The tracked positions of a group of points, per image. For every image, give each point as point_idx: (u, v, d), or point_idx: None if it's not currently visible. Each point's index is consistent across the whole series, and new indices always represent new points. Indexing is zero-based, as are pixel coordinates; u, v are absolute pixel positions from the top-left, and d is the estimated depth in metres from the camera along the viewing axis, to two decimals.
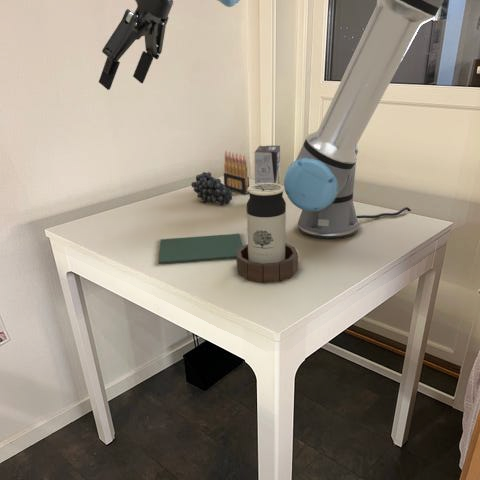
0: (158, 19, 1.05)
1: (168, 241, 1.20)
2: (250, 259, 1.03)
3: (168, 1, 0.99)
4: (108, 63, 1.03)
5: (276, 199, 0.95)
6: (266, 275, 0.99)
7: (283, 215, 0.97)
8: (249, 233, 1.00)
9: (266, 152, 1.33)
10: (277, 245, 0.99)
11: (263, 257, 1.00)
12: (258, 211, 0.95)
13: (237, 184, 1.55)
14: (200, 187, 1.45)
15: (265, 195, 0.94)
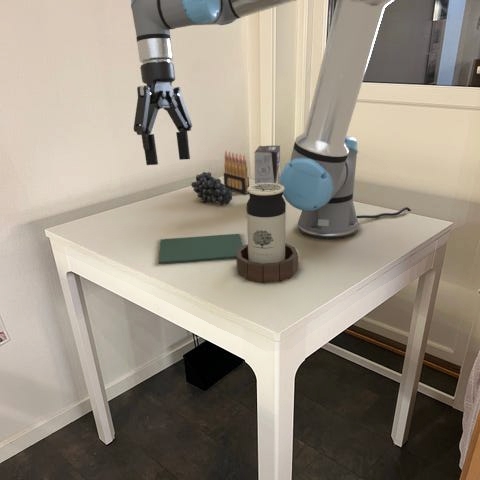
0: (171, 89, 1.12)
1: (168, 241, 1.20)
2: (250, 259, 1.03)
3: (167, 62, 1.06)
4: (144, 139, 1.07)
5: (276, 199, 0.95)
6: (266, 275, 0.99)
7: (283, 215, 0.97)
8: (249, 233, 1.00)
9: (266, 152, 1.33)
10: (277, 245, 0.99)
11: (263, 256, 1.00)
12: (257, 211, 0.95)
13: (237, 184, 1.55)
14: (200, 187, 1.45)
15: (265, 195, 0.94)
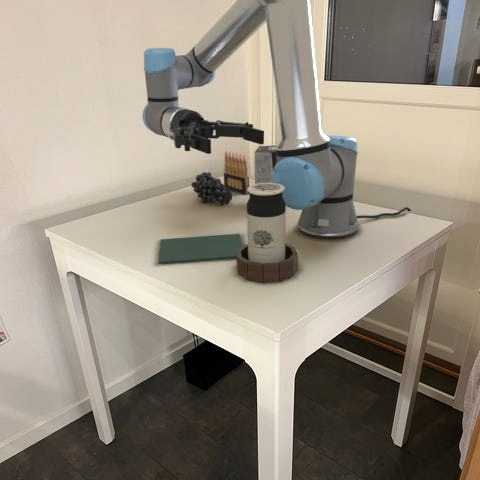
0: None
1: (168, 241, 1.20)
2: (250, 259, 1.03)
3: None
4: (188, 142, 0.99)
5: (276, 199, 0.95)
6: (266, 275, 0.99)
7: (283, 215, 0.97)
8: (249, 233, 1.00)
9: (266, 152, 1.33)
10: (277, 245, 0.99)
11: (263, 256, 1.00)
12: (257, 211, 0.95)
13: (237, 184, 1.55)
14: (200, 187, 1.45)
15: (265, 195, 0.94)
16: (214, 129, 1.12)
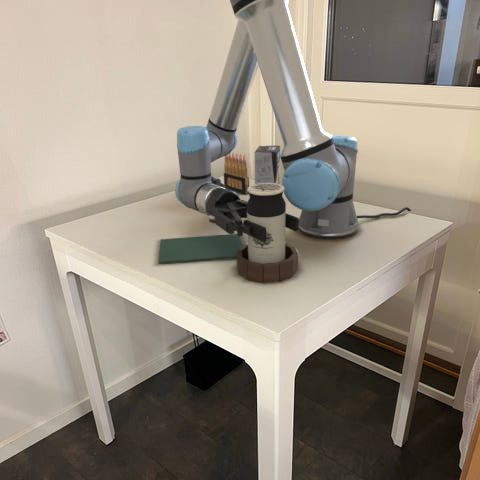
0: None
1: (168, 241, 1.20)
2: (250, 259, 1.03)
3: None
4: (242, 229, 0.98)
5: (276, 199, 0.95)
6: (266, 275, 0.99)
7: (283, 215, 0.97)
8: None
9: (266, 152, 1.33)
10: (277, 245, 0.99)
11: (263, 257, 1.00)
12: (257, 211, 0.95)
13: (237, 184, 1.55)
14: None
15: (265, 195, 0.94)
16: None
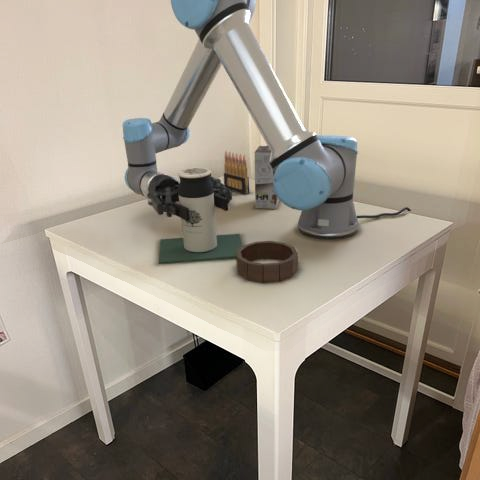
0: None
1: (168, 241, 1.20)
2: (184, 237, 1.13)
3: None
4: (169, 210, 1.09)
5: (202, 181, 1.06)
6: (266, 275, 0.99)
7: (210, 196, 1.08)
8: None
9: (266, 152, 1.33)
10: (206, 224, 1.10)
11: (194, 234, 1.11)
12: (186, 192, 1.06)
13: (237, 184, 1.55)
14: None
15: (192, 178, 1.04)
16: None
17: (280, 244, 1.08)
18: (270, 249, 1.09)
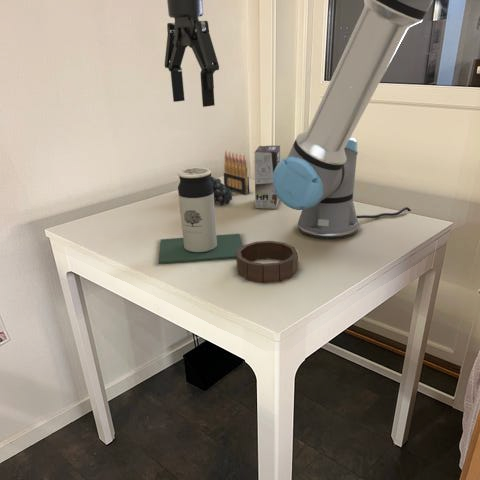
0: None
1: (168, 241, 1.20)
2: (184, 237, 1.13)
3: None
4: (210, 79, 1.05)
5: (202, 181, 1.06)
6: (266, 275, 0.99)
7: (210, 196, 1.08)
8: (181, 213, 1.11)
9: (266, 152, 1.33)
10: (206, 224, 1.10)
11: (194, 234, 1.11)
12: (186, 192, 1.06)
13: (237, 184, 1.55)
14: None
15: (192, 178, 1.05)
16: None
17: (280, 244, 1.08)
18: (270, 249, 1.09)
